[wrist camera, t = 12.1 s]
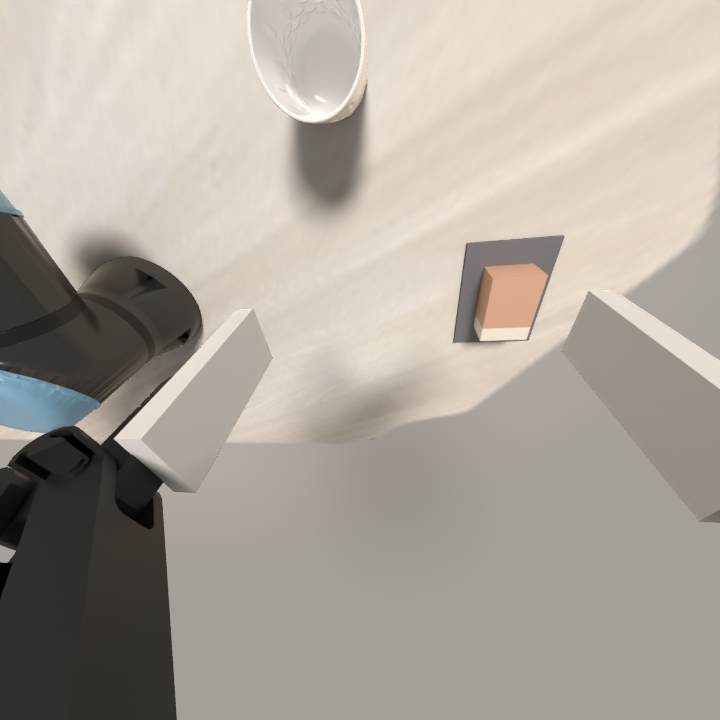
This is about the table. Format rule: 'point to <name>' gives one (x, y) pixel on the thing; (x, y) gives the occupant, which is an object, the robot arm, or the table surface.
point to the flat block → (508, 301)
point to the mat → (499, 254)
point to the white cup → (310, 56)
